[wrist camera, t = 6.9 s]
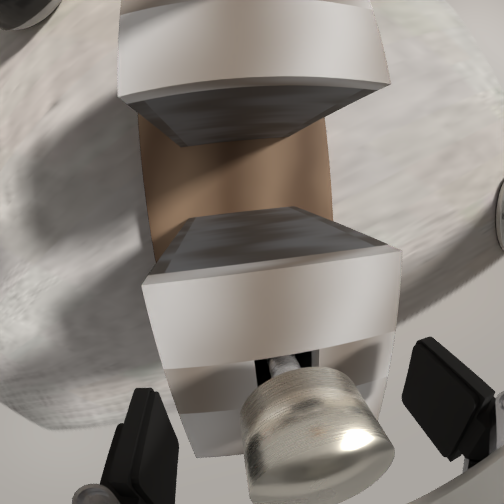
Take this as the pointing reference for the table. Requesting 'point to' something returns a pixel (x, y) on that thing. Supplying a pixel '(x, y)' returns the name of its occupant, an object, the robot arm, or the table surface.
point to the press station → (253, 199)
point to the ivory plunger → (310, 437)
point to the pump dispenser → (24, 12)
